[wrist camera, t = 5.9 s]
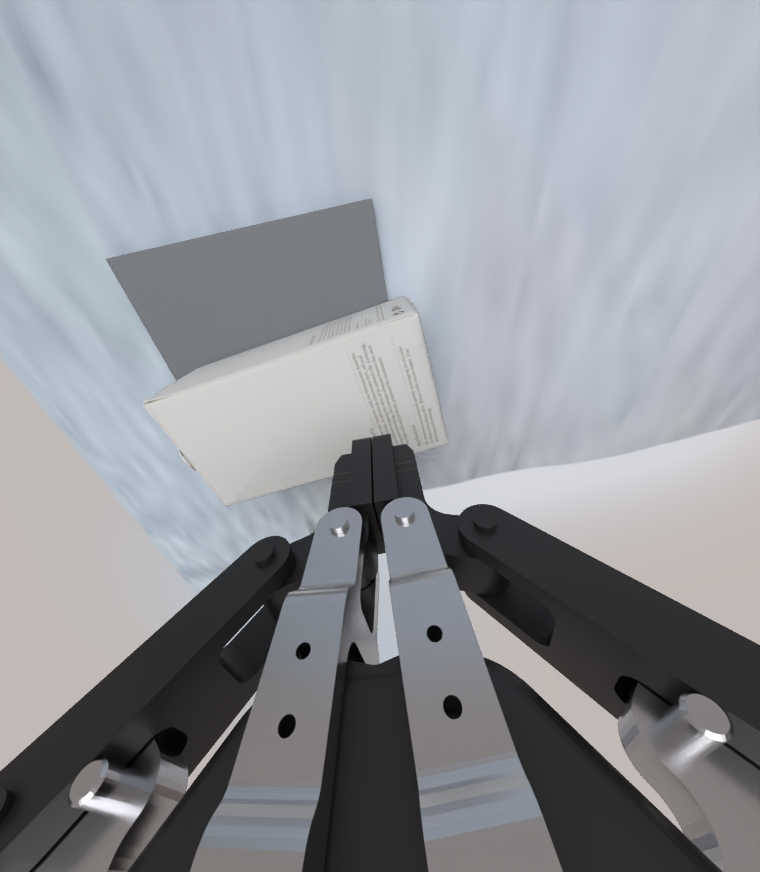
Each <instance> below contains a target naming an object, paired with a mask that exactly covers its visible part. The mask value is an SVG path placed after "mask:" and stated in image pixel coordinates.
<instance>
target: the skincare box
mask: <svg viewBox="0 0 760 872" xmlns="http://www.w3.org/2000/svg"><path fill="white" fill-rule="evenodd" d="M143 406H144V408H145V409H146V410H147V411H148V412H149V414H150V415H151V416H152V417H153V418H154V420H155V421H156V422H157V423H158V424H159V426H160V427H161V428H162V429H163V430H164V432H165V433H166V434H167V435H168V436H169V438H170V439H171V440H172V441H173V442H174V444H175V445H176V446H177V448H178V450H179V453H180V455H181V457H182V459H183V460H184V462H185V463H186V464H187V465H188V466H189V467H190V468H192V469H193V470H195V471H197V472H198V473H199V474H200V475H201V476H202V478H203V479H204V480H205V481H206V482H207V484H208V485H209V486H210V487H211V488H212V490H213V491H214V492H215V493H216V494H217V496H218V497H219V498H220V499H221V501H222V502H223V503H224V505H225V506H228V505H231V504H235V503H238V502H242V501H246V500H249V499H253V498H256V497H260V496H263V495H267V494H271V493H274V492H278V491H281V490H285V489H288V488H292V487H295V486H299V485H303V484H306V483H310V482H314V481H317V480H321V479H324V478H328V477H331V476H334V474H333V473H334V466H335V463H336V462H337V460H338V459H339V458H340V456H341V455H345V454H350V453H351V451H352V441H353V440H357V439H362V438H368V437H371V438H372V437H373V436H379V435H385V434H391V438H392V443H393V446H396V445H402V444H407V445H408V446H409V447H410V448H411V449H412V450H413V451H414V453H418V452H421V451H425V450H429V449H432V448H436V447H439V446H443V445H446V444H448V439H447V434H446V430H445V426H444V422H443V417H442V413H441V409H440V404H439V400H438V396H437V392H436V387H435V383H434V378H433V374H432V369H431V365H430V361H429V356H428V352H427V347H426V343H425V339H424V334H423V330H422V325H421V321H420V316H419V313H418V310H417V309H416V307H415V306H414V305H413V303H412V302H411V301H410V300H409V299H408V298H406V297H404V296H402V297H399V298H396V299H394V300H391V301H388V302H385V303H382V304H379V305H376V306H374V307H371V308H368V309H365V310H362V311H359V312H357V313H354V314H351V315H348V316H345V317H342V318H339V319H336V320H333V321H330V322H328V323H325V324H322V325H319V326H316V327H313V328H310V329H307V330H305V331H302V332H299V333H296V334H293V335H290V336H288V337H285V338H282V339H279V340H276V341H273V342H270V343H268V344H265V345H262V346H259V347H256V348H253V349H251V350H248V351H245V352H242V353H239V354H236V355H233V356H230V357H228V358H225V359H222V360H220V361H216V362H213V363H211V364H208V365H205V366H202V367H200V368H197V369H195V370H194V371H192V372H191V373H189V374H187V375H186V376H184V377H182V378H181V379H179V380H177V381H176V382H174V383H172V384H171V385H169V386H167V387H166V388H164V389H163V390H161V391H159V392H158V393H156V394H155V395H153V396H152V397H150V398H148V399H147V400H145V401H144V404H143Z"/></svg>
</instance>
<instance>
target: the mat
mask: <svg viewBox="0 0 760 872" xmlns="http://www.w3.org/2000/svg"><path fill="white" fill-rule="evenodd" d="M106 260H107V262H108V264H109V266H110V267H111V269H112V271H113V273H114V274H115V276H116V278H117V279H118V281H119V283H120V285H121V286H122V288H123V290H124V291H125V293H126V295H127V297H128V298H129V300H130V302H131V303H132V305H133V307H134V309H135V310H136V312H137V314H138V316H139V317H140V319H141V321H142V322H143V324H144V326H145V328H146V329H147V331H148V333H149V334H150V336H151V338H152V340H153V341H154V343H155V345H156V347H157V348H158V350H159V352H160V353H161V355H162V357H163V359H164V360H165V362H166V364H167V365H168V367H169V369H170V371H171V372H172V374H173V376H174V377H175V379H176V381H177V380H179V379H181V378H182V377H184V376H186V375H187V374H189V373H191V372H192V371H194V370H195V369H197V368H200V367H202V366H205V365H208V364H211V363H213V362H216V361H220V360H222V359H225V358H228V357H230V356H233V355H236V354H239V353H242V352H245V351H248V350H251V349H253V348H256V347H259V346H262V345H265V344H268V343H270V342H273V341H276V340H279V339H282V338H285V337H288V336H290V335H293V334H296V333H299V332H302V331H305V330H307V329H310V328H313V327H316V326H319V325H322V324H325V323H328V322H330V321H333V320H336V319H339V318H342V317H345V316H348V315H351V314H354V313H357V312H359V311H362V310H365V309H368V308H371V307H374V306H376V305H379V304H382V303H385V302H388V300H387V294H386V287H385V281H384V275H383V268H382V262H381V255H380V249H379V243H378V236H377V230H376V223H375V217H374V211H373V204H372V198H371V199H367V200H363V201H358V202H354V203H349V204H345V205H341V206H336V207H332V208H327V209H323V210H319V211H314V212H310V213H306V214H301V215H297V216H292V217H288V218H284V219H279V220H275V221H270V222H266V223H262V224H257V225H253V226H248V227H244V228H240V229H235V230H231V231H226V232H222V233H218V234H213V235H209V236H205V237H200V238H196V239H191V240H187V241H183V242H178V243H174V244H169V245H165V246H161V247H156V248H152V249H147V250H143V251H139V252H134V253H130V254H126V255H121V256H117V257H112V258H108V259H106Z"/></svg>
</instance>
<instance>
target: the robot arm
mask: <svg viewBox="0 0 760 872" xmlns="http://www.w3.org/2000/svg"><path fill="white" fill-rule="evenodd" d="M333 474H334V476H333V480H332V483H333V484H332V487H331V494H330V501H329V508H328V513H326V514H325V515H324V516H323V517H322V518H321V519H320V520H319V522H318V524H317V526H316V530H315V532H314V533H312V534H311V535H309V536H307V537H304V538H302V539H300V540H298V541H295V542H293V543H291V544H289V543H288V541H287V540H286V539H285V538H283V537H280V536H270V537H267V538H264V539H262V540H260V541H258V542H257V543H255V544H254V545H252V546H251V547H250V548H249V549H248V550H247V551H246V552H245V553H243V554H242V555H241V556H240V557H239V558H238V559H237V560H236V561H234V562H233V563H232V564H231V565H230V566H229V567H228V568H227V569H226V570H224V571H223V572H222V573H221V574H220V575H219V576H218V577H217V578H216V579H214V580H213V581H212V582H211V583H210V584H209V585H208V586H207V587H205V588H204V589H203V590H202V591H201V592H200V593H199V594H198V595H197V596H196V597H194V598H193V599H192V600H191V601H190V602H189V603H188V604H187V605H185V606H184V607H183V608H182V609H181V610H180V611H179V612H178V613H176V614H175V615H174V616H173V617H172V618H171V619H170V620H169V621H168V622H166V623H165V624H164V625H163V626H162V627H161V628H160V629H159V630H158V631H156V632H155V633H154V634H153V635H152V636H151V637H150V638H149V639H148V640H146V641H145V642H144V643H143V644H142V645H141V646H140V647H139V648H137V649H136V650H135V651H134V652H133V653H132V654H131V655H130V656H128V657H127V658H126V659H125V660H124V661H123V662H122V663H121V664H120V665H119V666H117V667H116V668H115V669H114V670H113V671H112V672H111V673H110V674H108V675H107V676H106V677H105V678H104V679H103V680H102V681H101V682H99V684H98V685H96V686H95V687H94V688H93V689H92V690H91V691H90V692H88V693H87V694H86V695H85V696H84V697H83V698H82V699H81V700H80V701H78V702H77V703H76V704H75V705H74V706H73V707H72V708H70V709H69V710H68V711H67V712H66V713H65V714H64V715H63V716H62V717H61V718H59V719H58V720H57V721H56V722H55V723H54V724H53V725H52V726H50V727H49V728H48V729H47V730H46V731H45V732H44V733H43V734H41V735H40V736H39V737H38V738H37V739H36V740H35V741H34V742H33V743H31V744H30V745H29V746H28V747H27V748H26V749H25V750H24V751H22V752H21V753H20V754H19V755H18V756H17V757H16V758H15V759H14V760H12V761H11V762H10V763H9V764H8V765H7V766H6V767H5V768H4V769H2V770H1V771H0V872H760V645H758V644H756V643H755V642H753V641H751V640H749V639H747V638H745V637H743V636H741V635H739V634H737V633H736V632H733V631H732V630H730V629H728V628H726V627H724V626H722V625H720V624H718V623H716V622H715V621H713V620H711V619H709V618H707V617H705V616H703V615H701V614H699V613H698V612H696V611H694V610H692V609H690V608H688V607H686V606H684V605H682V604H680V603H679V602H677V601H674V600H673V599H671V598H669V597H667V596H665V595H663V594H661V593H660V592H658V591H656V590H654V589H652V588H650V587H648V586H646V585H644V584H642V583H641V582H639V581H637V580H635V579H633V578H631V577H629V576H627V575H625V574H623V573H621V572H620V571H618V570H615V569H614V568H612V567H610V566H608V565H606V564H604V563H603V562H601V561H599V560H597V559H595V558H593V557H591V556H589V555H587V554H585V553H583V552H582V551H580V550H578V549H576V548H574V547H572V546H570V545H568V544H566V543H565V542H563V541H561V540H559V539H557V538H555V537H553V536H551V535H549V534H547V533H546V532H544V531H541V530H540V529H538V528H536V527H534V526H532V525H530V524H528V523H527V522H525V521H523V520H521V519H519V518H517V517H515V516H513V515H511V514H509V513H508V512H506V511H504V510H502V509H500V508H497V507H495V506H492V505H486V504H478V505H473V506H471V507H468V508H466V509H465V510H464V511H463V512H462V513H461V514H460V516H459V515H450V514H443V513H440V512H438V511H435V510H434V509H432V508H431V507H430V506H429V505H428V504H427V503H426V501H425V499H424V495H423V491H422V486H421V482H420V477H419V473H418V469H417V464H416V460H415V456H414V451H413V450H412V449H411V448H410V447H409V446H408V445H407V444H402V445H396V446H393V443H392V438H391V434H385V435H379V436H373V437H372V438H371V437H368V438H362V439H357V440H353V441H352V451H351V453H350V454H345V455H341V456H340V458H339V459H338V460H337V462H336V463H335V466H334V473H333ZM385 549H386V552H385ZM382 553H386V555H387V562H388V569H389V575H390V580H389V588H390V596H391V603H392V609H393V616H394V623H395V630H396V637H397V644H398V651H399V656H397V657H394V658H392V659H390V660H388V661H385V662H383V663H381V664H380V663H379V653H378V645H377V625H378V600H379V599H378V598H379V572H378V554H382ZM460 590H461V591H465V593H466V594H467V596H468V597H469V598H470V599H471V600H472V601H474V602H475V603H476V604H477V605H478V606H480V607H481V608H482V609H483V610H485V611H486V612H487V613H488V614H490V615H491V616H492V617H493V618H495V619H496V620H497V621H498V622H499V623H500V624H502V625H503V626H504V627H505V628H507V629H508V630H509V631H510V632H511V633H513V634H514V635H515V636H516V637H518V638H519V639H520V640H521V641H522V642H524V643H525V644H526V645H527V646H529V647H530V648H531V649H533V651H535V652H536V653H537V654H538V655H540V656H541V657H542V658H543V659H544V660H546V661H547V662H548V663H550V664H551V665H552V666H553V667H554V668H555V669H557V670H558V671H559V672H560V673H562V674H563V675H564V676H565V677H566V678H568V679H569V680H570V681H571V682H572V683H574V684H575V685H576V686H577V687H579V688H580V689H581V690H582V691H584V692H585V693H586V694H587V695H589V696H590V697H591V698H592V699H593V700H595V701H596V702H597V703H598V704H599V705H601V706H602V707H603V708H604V709H605V710H607V711H608V712H609V713H610V714H612V715H613V716H614V717H615V718H617V719H618V729H619V735H620V739H621V742H622V745H623V747H624V750H625V752H626V754H627V756H628V757H629V759H630V761H631V762H632V764H633V765H634V767H635V768H636V770H637V771H638V772H639V773H640V775H641V776H642V777H643V778H644V779H645V780H646V781H647V782H648V783H649V784H650V785H651V787H652V788H653V789H654V790H655V791H656V792H657V793H658V794H659V795H660V796H661V798H662V799H663V800H664V802H665V803H666V804H667V805H668V807H669V808H670V810H671V811H672V813H673V814H674V816H675V818H676V820H677V821H678V823H679V825H680V827H681V829H682V831H683V833H682V832H681V831H680V830H679V829H678V828H677V827H676V826H675V825H674V824H673V823H672V822H671V821H669V819H668V818H666V817H665V816H664V815H663V814H662V813H661V812H660V811H659V810H658V809H657V808H656V807H655V806H654V805H653V804H652V803H651V802H649V800H648V799H647V798H646V797H645V796H643V795H642V794H641V793H640V792H639V791H638V790H637V789H636V788H635V787H634V786H633V785H632V784H631V783H630V782H629V781H628V780H627V779H626V778H625V777H624V776H623V775H622V774H621V773H619V771H617V770H616V769H615V768H614V767H613V766H612V765H611V764H610V763H609V762H608V761H607V760H606V759H605V758H604V757H603V756H602V755H601V754H600V753H599V752H598V751H597V750H596V749H595V748H594V747H593V746H591V745H590V744H589V743H588V742H587V741H586V740H585V739H584V738H583V737H582V736H581V735H580V734H579V733H578V732H577V731H576V730H575V729H574V728H573V727H572V726H571V725H570V724H569V723H568V722H567V721H565V720H564V719H563V718H562V717H561V716H560V715H559V714H558V713H557V712H556V711H555V710H554V709H553V708H552V707H551V706H550V705H549V704H548V703H547V702H546V701H545V700H544V699H543V698H542V697H541V696H539V695H538V694H537V693H536V692H535V691H534V690H533V689H532V688H531V687H530V686H529V685H528V684H527V683H526V682H524V681H523V680H522V679H521V678H519V677H518V676H517V675H516V674H514V673H513V672H511V671H510V670H508V669H507V668H505V667H503V666H502V665H500V664H498V663H496V662H494V661H492V660H489V659H487V658H483V656H482V653H481V650H480V647H479V644H478V641H477V639H476V636H475V633H474V630H473V627H472V624H471V621H470V619H469V616H468V613H467V610H466V607H465V604H464V602H463V599H462V596H461V593H460ZM263 604H264V607H263V608H262V609H261V610H260V611H259V612H258V613H257V614H256V615H255V616H254V617H253V618H252V619H251V621H250V622H249V623H248V624H247V625H246V626H245V627H244V628H243V629H242V630H241V631H240V633H238V635H237V636H236V637H235V638H234V639H233V640H232V641H231V642H230V643H229V644H228V645H227V646H226V647H224V646H225V645H226V644H227V643H228V642H229V641H230V639H231V638H232V637H233V636H234V635H235V634H236V633H237V632H238V631H239V630H240V629H241V628H242V627H243V626H244V625H245V623H246V622H247V621H248V620H249V619H250V618H251V617H252V616H253V615H254V614H255V613H256V612H257V611H258V610H259V608H260V607H261V606H262V605H263ZM256 691H257V693H256V696H255V699H254V702H253V705H252V706H251V707H250V709H248V711H247V712H246V713H245V714H244V715H243V717H242V718H241V719H240V720H239V722H238V723H237V724H236V726H235V727H234V729H233V730H232V731H231V732H230V734H229V735H228V736H227V738H226V739H225V740H224V742H223V743H222V745H221V746H220V747H219V749H218V750H217V751H216V753H215V754H214V755H213V757H212V758H211V759H210V761H209V762H208V763H207V765H206V766H205V767H204V769H203V770H202V771H201V773H200V774H199V776H198V777H197V778H196V780H195V781H194V782H193V784H192V785H191V786H190V788H189V789H188V790H187V792H186V788H187V783H188V777H189V776H190V774H191V773H192V772H193V771H194V769H195V768H196V766H197V765H198V764H199V763H200V762H201V760H202V759H203V758H204V757H205V755H206V754H207V753H208V752H209V750H210V749H211V748H212V746H213V745H214V744H215V743H216V741H217V740H218V739H219V738H220V736H221V735H222V734H223V733H224V731H225V730H226V729H227V727H228V726H229V725H230V724H231V722H232V721H233V720H234V718H235V717H236V716H237V715H238V714H239V712H240V711H241V710H242V708H243V707H244V706H245V705H246V703H247V702H248V701H249V700H250V698H251V697H252V696H253V694H254V693H255V692H256Z"/></svg>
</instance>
